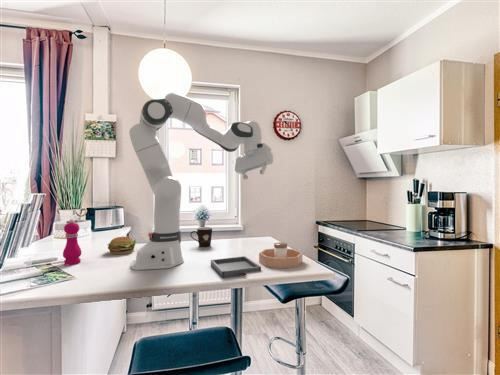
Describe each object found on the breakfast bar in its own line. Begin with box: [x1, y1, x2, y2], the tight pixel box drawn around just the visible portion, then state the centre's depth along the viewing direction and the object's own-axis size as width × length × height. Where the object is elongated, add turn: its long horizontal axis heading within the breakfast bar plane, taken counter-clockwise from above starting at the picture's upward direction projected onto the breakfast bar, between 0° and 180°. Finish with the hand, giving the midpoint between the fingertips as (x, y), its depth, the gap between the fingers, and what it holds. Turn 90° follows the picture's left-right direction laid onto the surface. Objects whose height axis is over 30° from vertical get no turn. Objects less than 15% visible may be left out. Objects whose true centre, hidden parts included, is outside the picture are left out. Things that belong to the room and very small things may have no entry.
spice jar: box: [273, 242, 288, 258], centre depth 129 cm, size 6×6×8 cm
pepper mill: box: [62, 218, 82, 266], centre depth 133 cm, size 7×7×20 cm
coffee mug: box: [189, 226, 213, 248], centre depth 167 cm, size 12×9×10 cm
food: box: [107, 236, 137, 255], centre depth 153 cm, size 14×14×8 cm
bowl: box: [258, 248, 303, 269], centre depth 129 cm, size 18×18×5 cm
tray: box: [210, 255, 262, 279], centre depth 122 cm, size 16×18×2 cm
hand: (253, 176), depth 140 cm, fingers open, 8 cm apart
